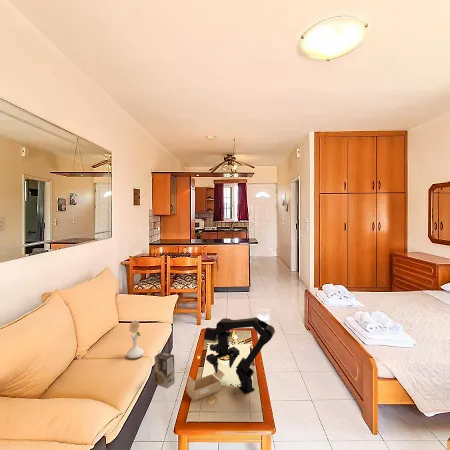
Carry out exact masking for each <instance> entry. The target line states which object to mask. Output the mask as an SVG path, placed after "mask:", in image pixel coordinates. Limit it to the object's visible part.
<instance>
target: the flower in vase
mask: <svg viewBox="0 0 450 450" xmlns="http://www.w3.org/2000/svg"><path fill="white" fill-rule="evenodd" d="M128 328H129V332H131V333H133V334H131V336H130V338H131V339H132V341H133V344H132V347H131V348H130V349H128V351H127V352H126V354H125V355H126V357H127V358H129V359H137V358H138V359H139V358H140V357H142V356H144V354H145V350H144V349H143V348H141V347H139V346H138V338H139V336H141V334H140V331H139V328H140V322H139V321H138V320H137V319H136V320H132V322H130V324H129V327H128Z"/></svg>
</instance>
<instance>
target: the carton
mask: <svg viewBox="0 0 450 450" xmlns="http://www.w3.org/2000/svg"><path fill="white" fill-rule="evenodd" d="M194 381H195V382H196V383H195V388H194V390H193V389H192V388H191V387H190V386H189V385H188V382H187V383H186V394H187V393H188V394H187V396H188V397H189V398H190V399H191V400H192V402H197V401H199V400H201V399H204V398H206V397H208V396H210V395H213V394H215V393H219V392H220V391H221V390H222V389H221V387H222V385H221V380H219V379H218V378H217V377H216V376H215V375H214V374H209V375H206V376H203V377H200V378H198V379H195V380H194Z"/></svg>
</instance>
